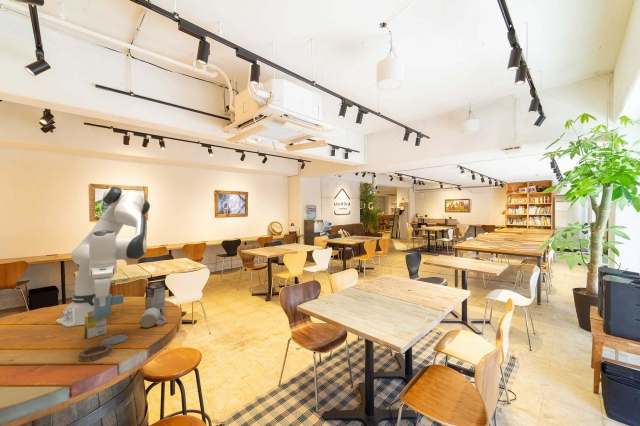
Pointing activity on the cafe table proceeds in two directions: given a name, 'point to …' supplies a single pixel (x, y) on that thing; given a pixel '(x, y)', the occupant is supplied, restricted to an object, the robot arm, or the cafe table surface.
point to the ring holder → (91, 357)
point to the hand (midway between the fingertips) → (102, 303)
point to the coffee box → (155, 298)
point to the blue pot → (106, 305)
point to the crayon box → (94, 325)
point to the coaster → (115, 339)
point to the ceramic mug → (151, 318)
